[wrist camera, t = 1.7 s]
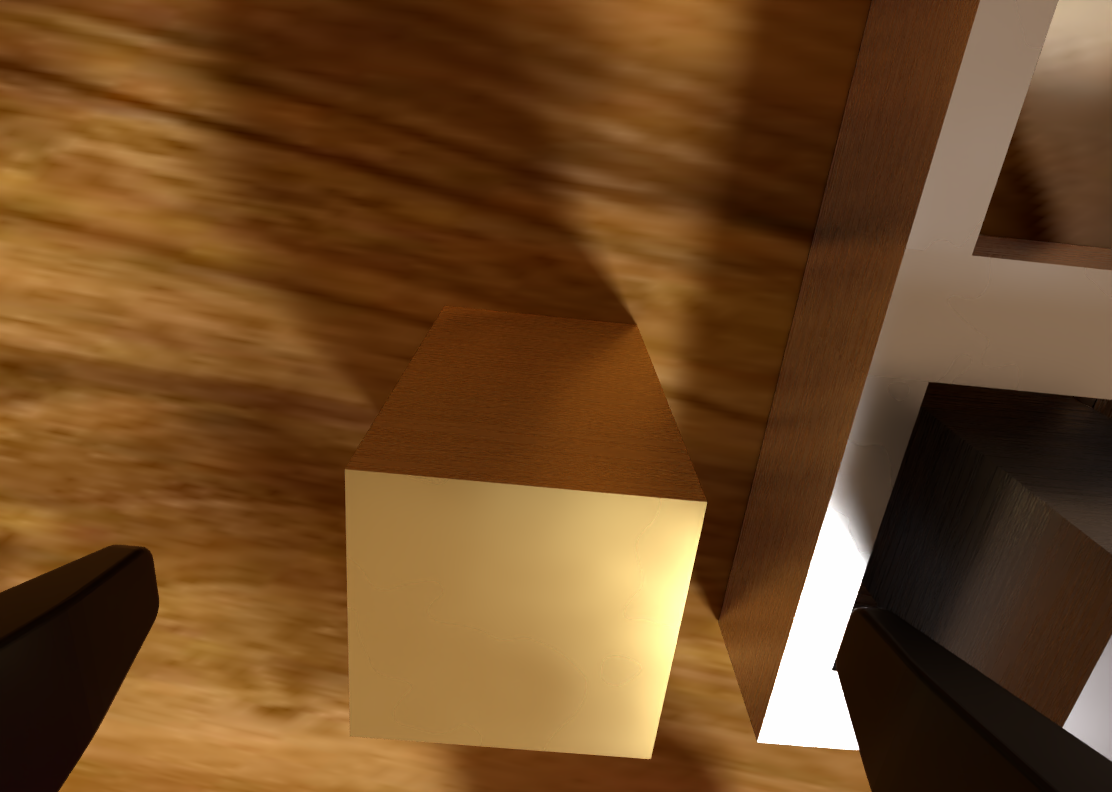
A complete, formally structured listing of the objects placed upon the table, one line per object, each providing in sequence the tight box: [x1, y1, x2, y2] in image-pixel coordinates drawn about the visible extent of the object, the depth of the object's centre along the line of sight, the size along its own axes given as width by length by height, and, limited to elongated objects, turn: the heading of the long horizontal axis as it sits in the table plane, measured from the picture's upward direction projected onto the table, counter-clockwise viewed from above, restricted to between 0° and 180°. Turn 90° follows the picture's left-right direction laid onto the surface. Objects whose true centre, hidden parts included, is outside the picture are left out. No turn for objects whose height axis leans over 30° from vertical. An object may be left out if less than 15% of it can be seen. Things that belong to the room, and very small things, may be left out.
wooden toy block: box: [345, 306, 707, 759], centre depth 11 cm, size 4×4×7 cm
